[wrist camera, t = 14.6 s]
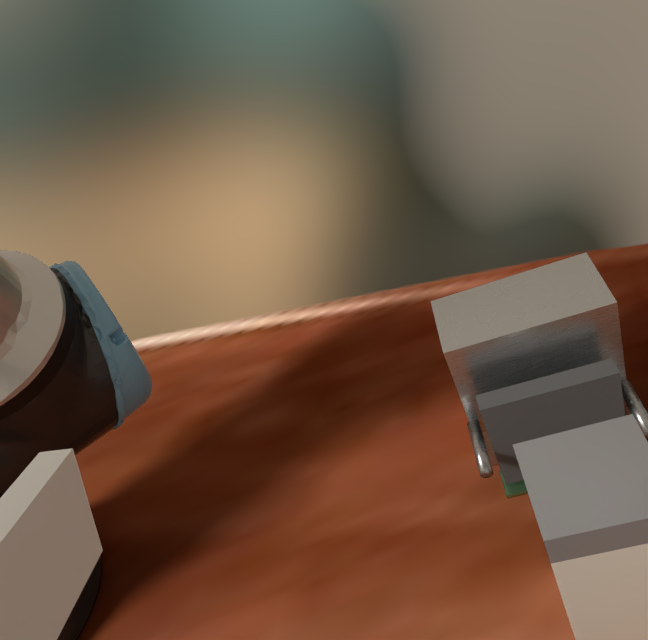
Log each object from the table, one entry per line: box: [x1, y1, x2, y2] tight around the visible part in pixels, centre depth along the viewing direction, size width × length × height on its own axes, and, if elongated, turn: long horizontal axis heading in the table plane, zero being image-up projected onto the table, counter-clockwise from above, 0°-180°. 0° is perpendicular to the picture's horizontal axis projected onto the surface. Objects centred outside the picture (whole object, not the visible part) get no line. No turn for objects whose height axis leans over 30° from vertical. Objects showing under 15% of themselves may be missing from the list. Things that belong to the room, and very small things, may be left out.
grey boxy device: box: [431, 253, 648, 498], centre depth 40 cm, size 9×10×12 cm
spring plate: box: [475, 358, 625, 484], centre depth 38 cm, size 1×8×8 cm, turn 91°
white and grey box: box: [513, 414, 648, 640], centre depth 32 cm, size 9×6×13 cm, turn 1°
